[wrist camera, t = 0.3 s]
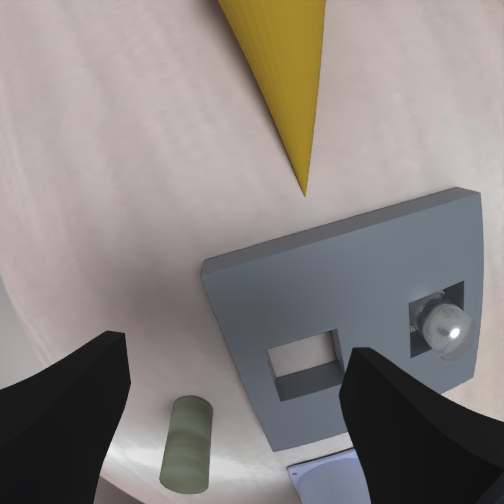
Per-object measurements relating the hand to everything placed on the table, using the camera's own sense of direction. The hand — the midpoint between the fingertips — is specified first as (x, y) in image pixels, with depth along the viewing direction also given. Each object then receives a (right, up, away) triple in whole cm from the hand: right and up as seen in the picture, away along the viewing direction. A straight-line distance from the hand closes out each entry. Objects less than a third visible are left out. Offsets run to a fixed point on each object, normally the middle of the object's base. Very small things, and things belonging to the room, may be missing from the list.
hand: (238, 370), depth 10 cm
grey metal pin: (+12, 0, +11) cm, 16 cm away
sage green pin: (-4, -8, +13) cm, 16 cm away
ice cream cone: (+1, +16, +6) cm, 17 cm away
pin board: (+8, -1, +11) cm, 14 cm away
